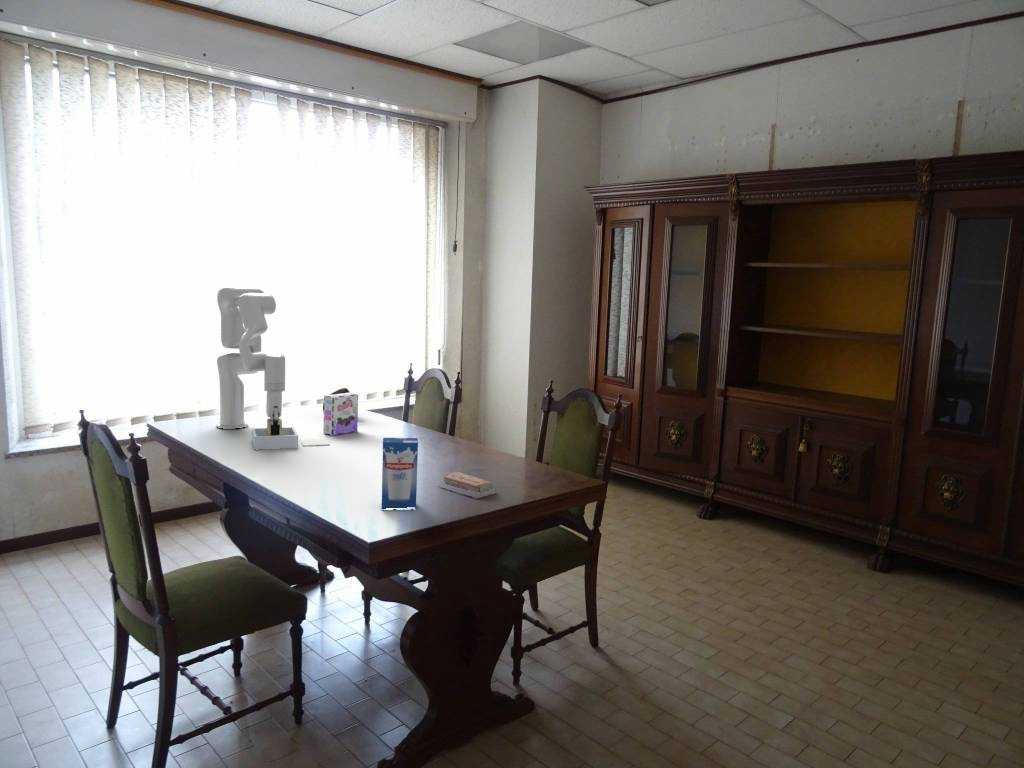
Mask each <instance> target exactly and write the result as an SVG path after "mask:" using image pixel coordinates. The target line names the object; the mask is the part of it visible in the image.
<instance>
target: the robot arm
mask: <svg viewBox="0 0 1024 768" xmlns="http://www.w3.org/2000/svg"><path fill="white" fill-rule="evenodd" d="M218 289H219V290H218V292H217V295H216V296H217V298H216V299H217V305H218V309H219V312H220V341H221V345H222V347H223V348H225V349H229V350H238V351H230V352H229V351H228V352H223V353H221V354H220V355H219V356H218V357H217V359H216V365H217V371H218V377H219V422H217V423H216V424H215V426H216V428H217V427H218V428H217V429H221V428H223V430H236V429H235V428H240V429H244V428H243V427H245V428H247V427H249V423H248V422H247V421H245V386H244V383H243V381H242V380H241V378H240V376H239V375H253V374H257V373H258V372H263V373H264V384H263V385H264V386H263V387H264V389H263V390H264V391H265V392H266V405H265V406H266V407H265V409H266V410H265V413H266V414H265V415H266V416H267V418H269V419H271V424H272V425H271V435H279V434H280V425H279V419H280V418H281V417H282V411H283V409H282V407H283V405H282V404H283V393H282V392H285V391H286V356H285V355H283V354H279V353H278V352H276V351H271V350H270V351H262V337H261V336H262V335H263V334H264V333H266V332H267V330H268V323H267V319H266V315H272V314H274V313H275V311H276V309H277V304H276V303H277V302H276V299H275V298H274V296H273V295H272V293H270V292H269V291H267V290H266V289H264V288H262V287H260V286H257V285H255V286H252V285H225V286H222V287H220V288H218Z"/></svg>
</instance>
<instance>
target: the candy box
mask: <svg viewBox="0 0 1024 768" xmlns="http://www.w3.org/2000/svg"><path fill="white" fill-rule="evenodd" d="M323 399H324V400H323V403H324V412H323V434H324V435H327V436H332V437H333V436H339V435H345V434H346V435H347V434H352V433H356V432H358V421H359V420H358V415H359V414H358V413H359V394H358V393H354V392H353V393H352V392H350V393H343V394H334V395H330V394H326V395H324V396H323ZM351 432H352V433H351Z"/></svg>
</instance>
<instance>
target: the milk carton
mask: <svg viewBox="0 0 1024 768" xmlns="http://www.w3.org/2000/svg"><path fill="white" fill-rule="evenodd" d="M418 449H419V439H418V437H383V438H382V470H381V471H382V473H381V474H382V476H381V479H382V481H381V482H382V483H381V510H382V509H386V508H407V507H416V508H417V488H418V487H417V486H418V484H417V482H418V459H419V458H418V455H419V450H418Z"/></svg>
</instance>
